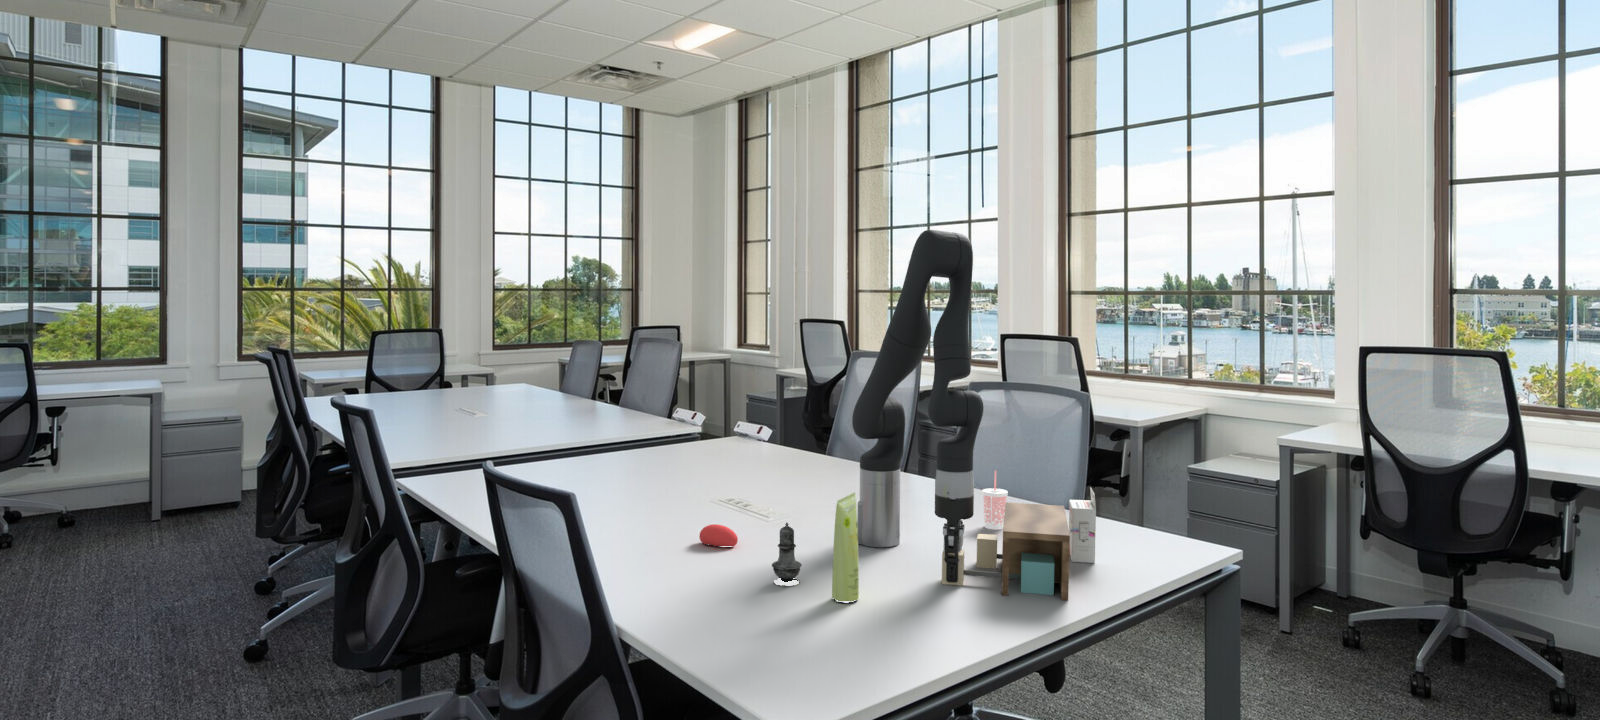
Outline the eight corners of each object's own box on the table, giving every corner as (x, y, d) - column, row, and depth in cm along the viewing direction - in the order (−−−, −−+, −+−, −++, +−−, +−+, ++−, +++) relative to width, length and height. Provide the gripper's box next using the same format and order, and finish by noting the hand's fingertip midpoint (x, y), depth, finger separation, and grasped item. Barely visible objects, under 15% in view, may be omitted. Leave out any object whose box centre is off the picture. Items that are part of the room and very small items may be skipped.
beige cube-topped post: (976, 568, 182) (976, 539, 182) (977, 560, 188) (978, 532, 187) (1051, 574, 178) (1052, 545, 178) (1050, 565, 184) (1051, 537, 184)
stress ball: (717, 558, 193) (731, 533, 193) (690, 537, 198) (704, 513, 198) (730, 561, 197) (744, 536, 198) (703, 540, 202) (717, 516, 203)
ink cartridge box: (1067, 551, 195) (1068, 485, 194) (1090, 552, 194) (1092, 486, 193) (1070, 562, 187) (1072, 493, 186) (1095, 563, 186) (1097, 494, 185)
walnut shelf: (1001, 594, 166) (1002, 531, 165) (1004, 558, 189) (1005, 502, 188) (1068, 600, 163) (1069, 535, 162) (1062, 562, 186) (1064, 505, 185)
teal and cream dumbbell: (941, 585, 171) (941, 555, 171) (943, 576, 177) (944, 546, 176) (1053, 594, 166) (1054, 563, 165) (1052, 585, 172) (1053, 554, 171)
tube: (863, 604, 160) (864, 498, 159) (836, 606, 159) (837, 499, 158) (854, 594, 166) (855, 491, 164) (828, 596, 165) (828, 493, 163)
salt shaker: (779, 589, 168) (780, 527, 168) (766, 580, 174) (766, 520, 173) (806, 584, 171) (807, 523, 170) (793, 576, 176) (793, 517, 176)
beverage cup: (1010, 526, 216) (1011, 469, 215) (1002, 531, 211) (1003, 474, 210) (986, 522, 219) (987, 467, 219) (977, 528, 214) (978, 471, 213)
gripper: (938, 483, 180) (937, 566, 181) (931, 498, 166) (930, 588, 167) (975, 485, 178) (974, 569, 179) (971, 501, 164) (970, 591, 166)
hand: (953, 577), depth 173 cm, fingers closed on teal and cream dumbbell, 4 cm apart
